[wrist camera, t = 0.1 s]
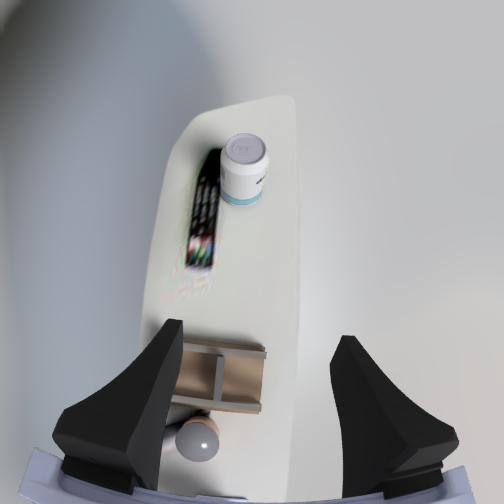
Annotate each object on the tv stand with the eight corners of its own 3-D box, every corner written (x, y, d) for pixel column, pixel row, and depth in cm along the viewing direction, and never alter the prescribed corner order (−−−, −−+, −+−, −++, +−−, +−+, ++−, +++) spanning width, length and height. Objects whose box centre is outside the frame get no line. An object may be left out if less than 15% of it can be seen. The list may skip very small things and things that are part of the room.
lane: (258, 413, 41) (262, 419, 36) (162, 401, 40) (154, 406, 35) (264, 347, 44) (269, 346, 39) (169, 336, 43) (162, 333, 39)
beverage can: (256, 214, 51) (265, 173, 40) (215, 204, 51) (214, 161, 40) (265, 180, 53) (275, 136, 42) (226, 171, 53) (228, 125, 42)
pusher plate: (221, 397, 40) (221, 401, 36) (214, 396, 40) (213, 400, 36) (225, 357, 42) (225, 357, 38) (218, 356, 42) (217, 356, 38)
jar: (218, 451, 38) (217, 464, 32) (180, 446, 38) (174, 458, 32) (221, 417, 40) (220, 426, 34) (182, 412, 40) (177, 420, 34)
